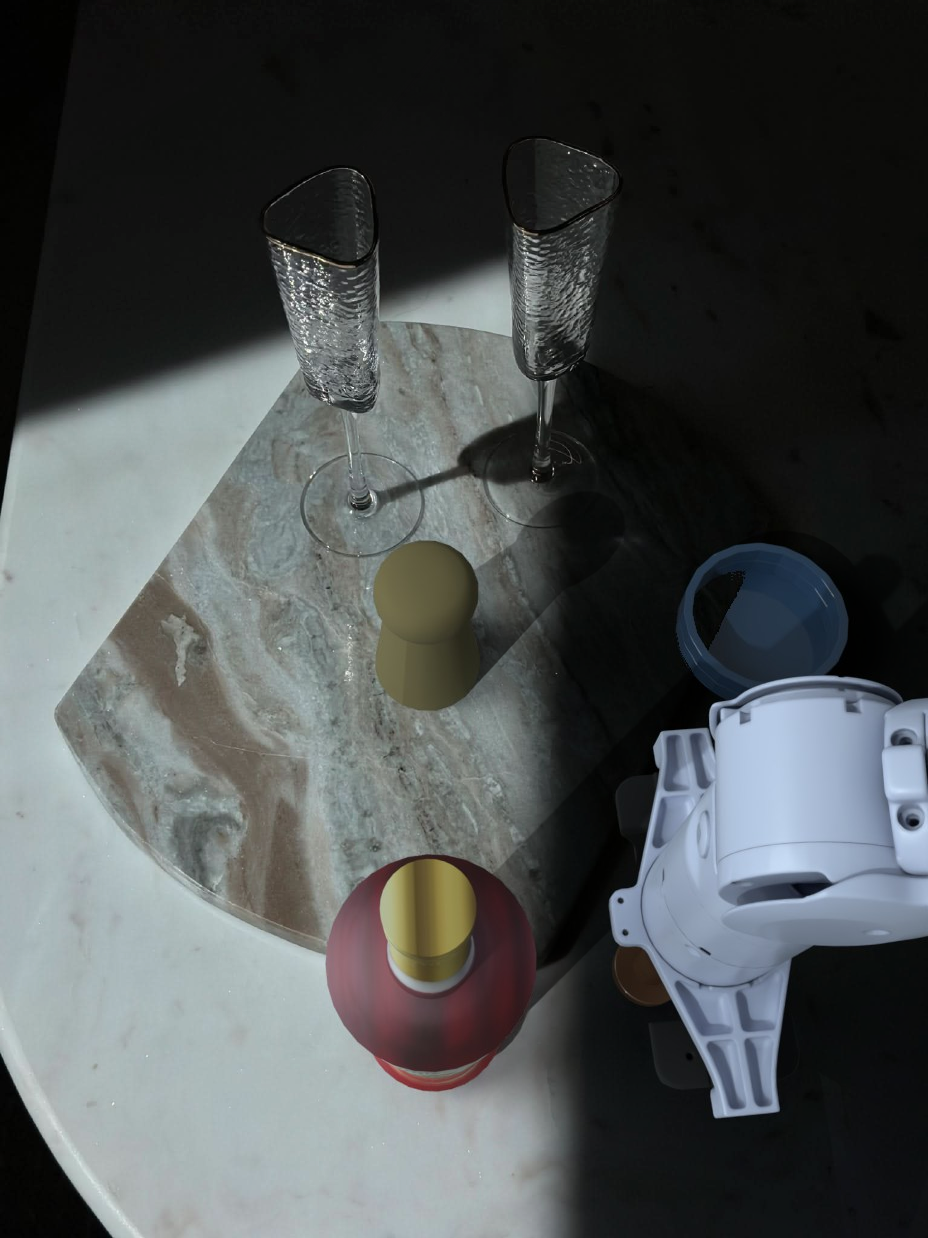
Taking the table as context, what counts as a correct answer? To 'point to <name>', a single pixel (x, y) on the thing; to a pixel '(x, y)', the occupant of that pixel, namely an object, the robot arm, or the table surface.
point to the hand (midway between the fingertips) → (672, 948)
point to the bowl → (765, 621)
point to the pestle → (638, 977)
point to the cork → (426, 625)
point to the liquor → (431, 968)
